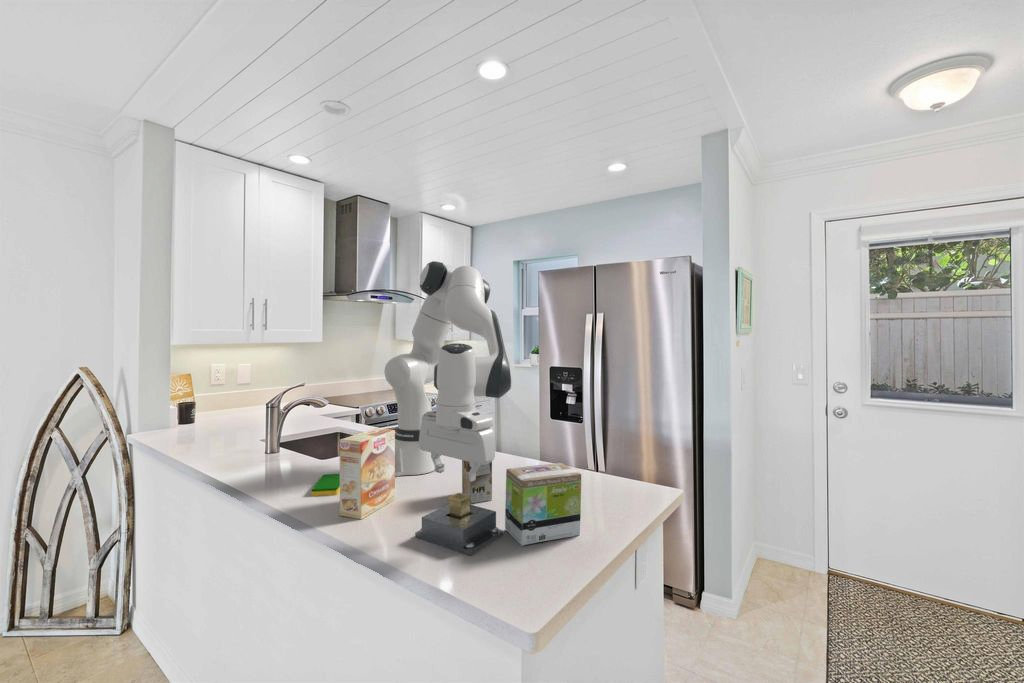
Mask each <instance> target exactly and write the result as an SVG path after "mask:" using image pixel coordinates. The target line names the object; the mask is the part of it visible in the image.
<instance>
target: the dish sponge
mask: <svg viewBox="0 0 1024 683" xmlns="http://www.w3.org/2000/svg"><path fill="white" fill-rule="evenodd" d="M338 495H340V473H330V474H329V473H328V474H325V473H324V474H322V475H321V477H320V478H319V479H318V481H317V482H316V483H315V484H314V486H313V487H312V488H311V497H325V496H338Z"/></svg>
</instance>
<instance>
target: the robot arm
mask: <svg viewBox="0 0 1024 683" xmlns="http://www.w3.org/2000/svg"><path fill="white" fill-rule="evenodd" d="M419 287H420V288H419V289H420V290H421V292H423V293H424V294H426V295H427V296H426V297H425V299H424V301H423V303H422V305H421V308H420V310H419V313H418V315H417V317H416V320H415V322H414V325H413V327H412V330H411V336H412V338H413V342H412V343H413V344H412V349H411V351H410V353H403V354H399V355H397V356H395V357H392V358H391V359H389V360H388V361H387V363H386V364H385V367H384V378H385V381H386V382H387V383H388V384H389V385H390V386H391V388H392V389H393V393H394V395H395V400H396V406H397V427H395V428H392V429H391V430H395V477H399V476H400V477H401V476H415V475H423V474H424V475H425V474H427V473H431V472H433V471H434V472H435V473H437V474H438V473H439V474H441V473H444V472H445V464H444V463H443V462H442V460H441V456H442V457H443V456H444V457H448V458H452V459H457V460H461V461H462V460H464V461H469V462H470V466H471V470H470V471H469V472H467V473H466V480H467V481H471V482H472V481H475V479H476V472H477V470H478V469H479V467H480V464H481V465H485V464H488V463H490V462H492V463H493V461H494V459H495V457H496V438H495V437H496V436H495V433H494V430H493V429H492V427H493V426H494V423H495V420H494V418H493V416H491V415H490V414H488V413H486V412H485V411H482V409H479V408H478V407H476V398H475V397H486V398H494V399H500V398H502V397H503V396H504V395H507V393H508V392H509V391H510V390H511V389H512V384H513V371H512V368H511V366H510V362H509V359H508V356H507V353H506V352H507V351H506V347H505V344H504V339H503V335H502V331H501V326H500V323H499V318H498V315H497V314H496V312H495V311H494V310H492V309H490V308H489V307H488V305H487V303H488V301H489V299H490V293H491V285H490V283H488V282H487V281H486V280H485V279H483V277H482V274H481V272H480V271H479V270H478V269H477V268H475V267H473V266H471V265H460V266H458V267H455V266H452V265H448V264H444V263H443V262H440V261H429V262H428V263H427V264H426V265H425V266H424V268H422V271H421V272H420V275H419ZM452 325H454V326H455V327H456V328H459V329H460V330H463V331H465V332H466V331H467V332H470V333H474V334H475V335H478V336H481V337H483V338H484V340H486V343H487V348H488V354H489V356H475V350H474V348H473V346H471V345H469V344H465V343H458V342H457V343H449V344H445V341H446V339H447V336H448V333H449V331H450V328H451V326H452ZM444 344H445V345H444ZM432 382H433V386H434V387H435V390H437V396H436V397H437V398H436V401H435V404H436V406H435V412H433V411H432V403H431V400H429V398H428V396H427V393H426V390H425V384H429V383H432Z"/></svg>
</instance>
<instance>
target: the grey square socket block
mask: <svg viewBox="0 0 1024 683" xmlns="http://www.w3.org/2000/svg"><path fill="white" fill-rule="evenodd" d="M414 534H415V535H414V537H415V538H417V539H419V540H422V541H426V542H429V543H432V544H434V545H438V546H441V547H443V548H446V549H449V550H453V551H456V552H458V553H461V554H464V555H467V556H472V555H475V554H476V553H478V552H479V551H481V550H482V549H484V548H485V547H486V546H488V545H490V544H491V543H493V542H494V541H496V540H497V539H499V538H500V537H502V536H504V530H503V529H500V528H499V527H497V511H496V510H492V509H488V508H485V507H481V506H477V505H474V504H470V515H469V516H467V517H465V518H464V519H462V520H459V519H456V518H452V517H450V503H449V504H447V505H445V506H442V507H441V508H438V509H436V510H434V511H431V512H429V513H427V514H426V515H423V516H421V528H420V529H419V530H418V531H415V533H414Z"/></svg>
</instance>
